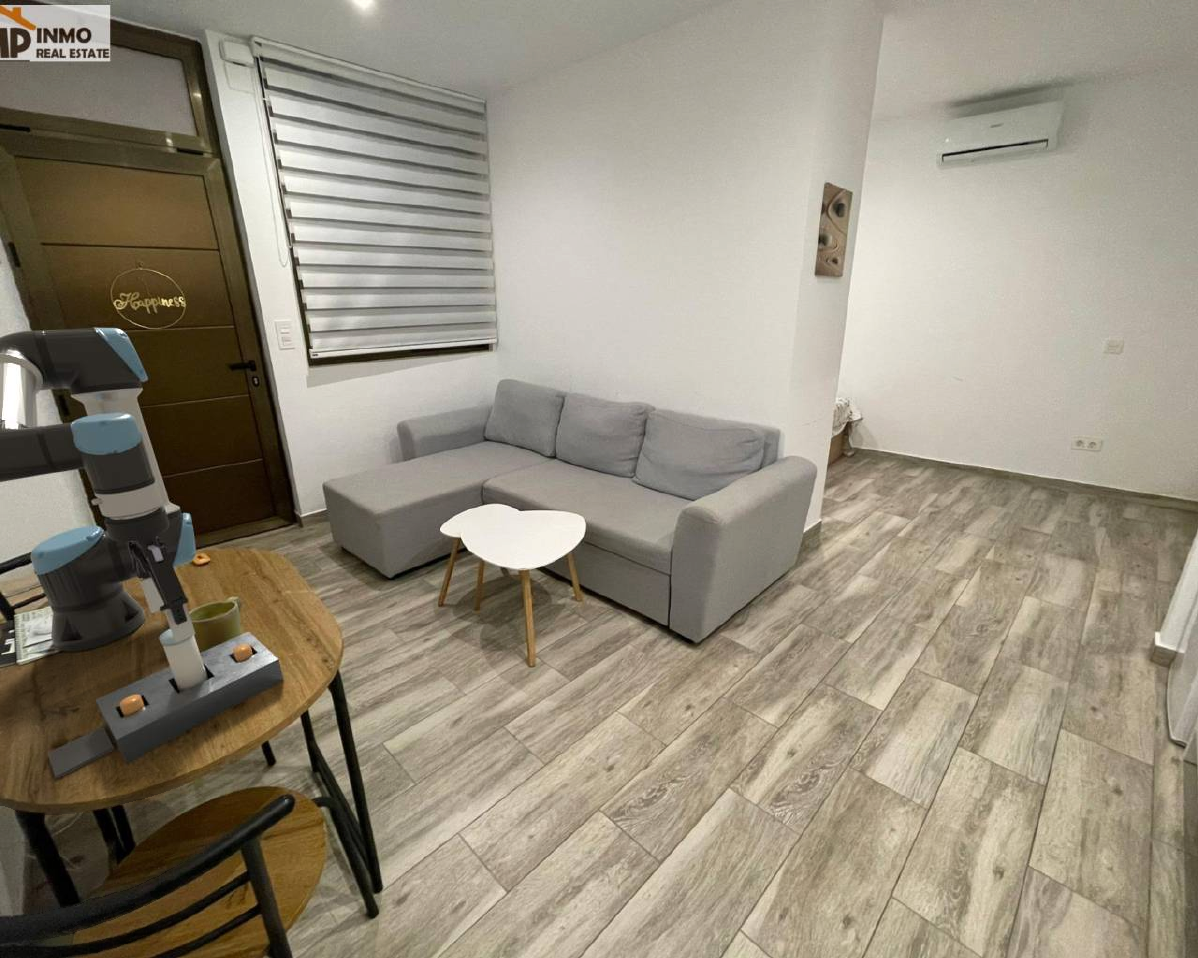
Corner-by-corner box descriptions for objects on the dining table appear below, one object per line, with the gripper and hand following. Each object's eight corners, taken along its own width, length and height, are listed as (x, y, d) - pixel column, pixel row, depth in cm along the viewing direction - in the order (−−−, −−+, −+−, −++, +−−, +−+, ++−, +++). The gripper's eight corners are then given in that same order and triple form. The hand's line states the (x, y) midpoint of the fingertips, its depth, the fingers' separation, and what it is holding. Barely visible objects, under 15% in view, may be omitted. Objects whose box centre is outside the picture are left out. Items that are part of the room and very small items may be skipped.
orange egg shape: (238, 673, 103) (230, 649, 101) (253, 666, 105) (247, 642, 103) (243, 679, 102) (236, 655, 100) (259, 671, 104) (252, 647, 102)
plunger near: (128, 727, 91) (117, 701, 89) (148, 717, 93) (138, 692, 91) (132, 735, 89) (121, 709, 87) (153, 725, 91) (142, 699, 89)
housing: (105, 721, 93) (95, 699, 91) (254, 651, 110) (248, 631, 109) (126, 763, 84) (116, 739, 83) (283, 679, 102) (278, 659, 100)
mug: (218, 656, 106) (202, 610, 105) (183, 662, 109) (167, 617, 108) (270, 630, 118) (256, 588, 117) (237, 637, 120) (223, 596, 120)
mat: (48, 755, 86) (47, 753, 86) (104, 729, 91) (103, 726, 91) (56, 779, 82) (55, 776, 82) (114, 749, 87) (113, 746, 87)
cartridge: (180, 701, 97) (155, 634, 92) (208, 687, 100) (187, 621, 95) (188, 713, 94) (164, 644, 89) (217, 698, 98) (195, 631, 93)
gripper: (85, 500, 88) (125, 607, 96) (124, 540, 74) (168, 663, 81) (141, 487, 94) (175, 589, 101) (187, 522, 79) (223, 638, 87)
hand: (172, 622), depth 91 cm, fingers open, 13 cm apart
